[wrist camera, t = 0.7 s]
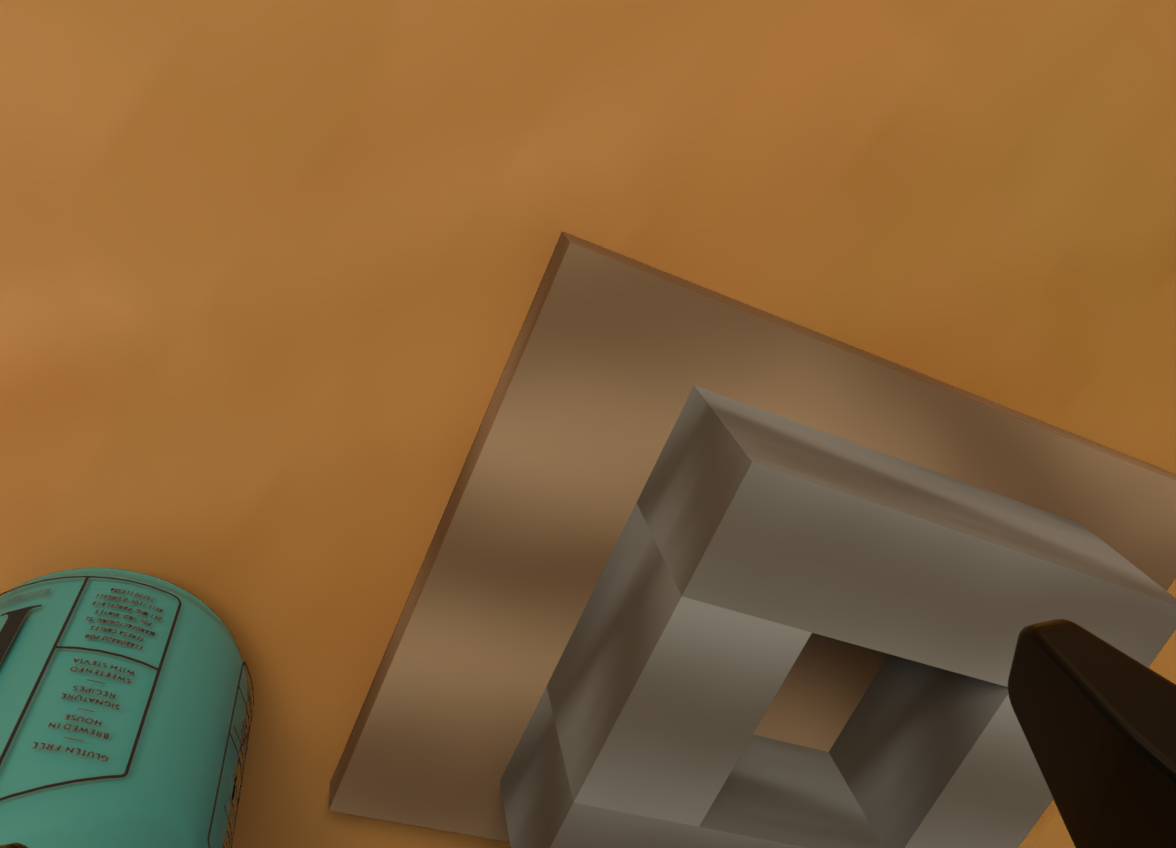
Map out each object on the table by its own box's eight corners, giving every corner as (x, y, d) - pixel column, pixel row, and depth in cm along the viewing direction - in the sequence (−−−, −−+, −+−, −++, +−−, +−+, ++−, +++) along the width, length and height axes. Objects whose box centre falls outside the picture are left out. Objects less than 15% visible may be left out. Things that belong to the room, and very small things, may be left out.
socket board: (920, 891, 33) (1004, 1034, 29) (330, 782, 27) (320, 945, 22) (1202, 485, 28) (1356, 581, 24) (562, 231, 22) (609, 298, 17)
